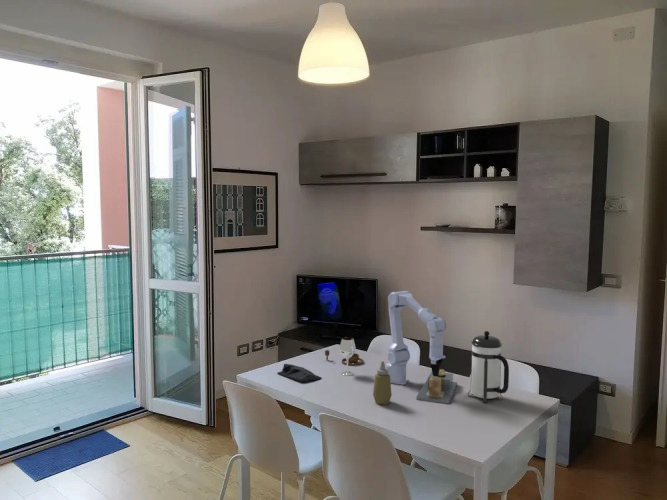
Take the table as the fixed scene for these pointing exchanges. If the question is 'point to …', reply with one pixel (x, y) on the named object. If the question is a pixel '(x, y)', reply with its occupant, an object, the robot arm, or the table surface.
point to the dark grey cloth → (298, 373)
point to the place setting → (351, 359)
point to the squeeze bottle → (382, 386)
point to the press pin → (441, 373)
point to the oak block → (435, 386)
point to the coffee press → (487, 367)
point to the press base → (446, 390)
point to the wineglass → (347, 351)
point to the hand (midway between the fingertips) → (435, 375)
